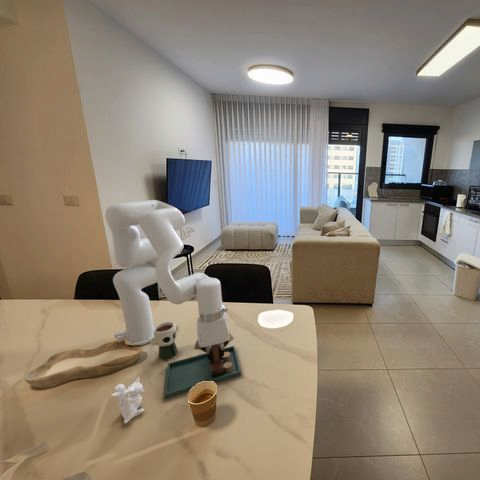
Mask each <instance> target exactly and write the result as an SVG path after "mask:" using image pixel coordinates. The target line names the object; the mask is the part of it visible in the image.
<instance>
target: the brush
mask: <svg viewBox="0 0 480 480" xmlns="http://www.w3.org/2000/svg"><path fill="white" fill-rule="evenodd" d="M219 347H220V344H215V345H211V346H210V349H211V354H212V363H211V372H212V378H215V377H218V376H221V375H224V366H223V360H221V359H220V349H219Z"/></svg>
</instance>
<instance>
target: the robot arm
mask: <svg viewBox="0 0 480 480" xmlns="http://www.w3.org/2000/svg"><path fill="white" fill-rule="evenodd" d="M104 218H105V221H106V225H107V226H108V228H109V230H110V232H111V237H112V244H113V251H114V252H113V253H114V258H115V262H116V264H117V265H118V266H119V267H121V268H124V269H122V270H120V271H118V272H117V273H115V274H114V276H113V277H112V283H113V286H114V288H115V290H116V293H117V295H118V298H119V301H120V305H121V311H122V315H123V320H124V325H125V330H123V331H118V332H115V333H114V337H115V338H116V340H117V341H118V340H122V339H123V340H124V339H126V340H128V341H129V342H130V343H132V344H136V345H139V346H143V345H147V344H148V343H151V338H153V337H154V333H153V329H154V327H155V323H154V318H153V317H154V316H153V312H152V307H151V301H150V297H149V295H148V294H147V293H146V292H144V291H142V290H143V289H144V288H146V287H149V286H152V285H154V284H156V283H157V285H158V286H159V288H160V290H161V292H162V293H163V295H164V296H165V297H166V299H167V301H169V302H170V303H171V304H173V305H181V304H184V303H186V302H188V301H190V300H192V299H193V298H195V297H196V298H197V306H198V315H199V316H198V317H197V320H196V321H197V322H196V333H197V334H196V336H197V338H196V342H195V344H194V346H193V347H194V348H193V349H194V350H196V351H197V350H198V351H201V352H204V353H206V354H207V357H208V360H210V363H212V354H211V345H215V344H219V343H220V344H219V349H220V359H221V360H223V356H224V349H225V348H227V346H228V344H229V343H231V342H233V340H234V339H235V338H234V334H232V333H231V332H230V327H229V323H228V318H227V317H228V316H227V315H226V314H227V313H226V312H228V307H225V306H224V305H223V306H224V307H225V308H224V307H223V306H222V304H223V296H222V285H221V280H219V279H218V278H216V277H210V276H208V275H207V274H205V273H203V272H195V273H192V274H190V275H187V276H185V277H182V278H180V279H178V280H177V279H176V280H175V278H174V277H173V275H172V273H171V270H170V267H171V266H170V265H171V262H172V260H173V259H174V258H175V257H176V256H178V254H180V253H181V252H182V251H183V249H184V242H183V241H182V240H181V238H180V237H179V235H178V234H177V232H176V231H178V230H181V229H183V228H184V227H185V224H186V218H185V216H184V214H183V213H182V211H181V210H179V209H178V208H176V207H175V206H173V205H170V204H169V203H166V202H163V201H160V200H157V199H147V200H137V201H136V200H135V201H126V202H119V203H113V204H111V205H109V206H108V207H107V208H106V210H105V215H104ZM137 226H139V227H140V229H141V230H142V232H143V233H144V235H145V236H146V238H141V233H140V230H139V228H138V227H137ZM224 312H225V313H224ZM139 346H138V347H139Z"/></svg>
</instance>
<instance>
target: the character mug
mask: <svg viewBox="0 0 480 480" xmlns="http://www.w3.org/2000/svg"><path fill="white" fill-rule="evenodd" d="M179 331H180V327H179V324H178V323H174V322H173V321H164V322H161V323H158V324H157V325H154V329H153V333H154V337H153V338H151V342H150V346H151V347H155V346H157V347H158V359H160V360H162V361H168V360H171V359H173V358H174V357H176V356H177V355H178V351H179V350H178V348H177V345H176V340H177V338H178V334H177V333H179ZM173 356H174V357H173Z"/></svg>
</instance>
